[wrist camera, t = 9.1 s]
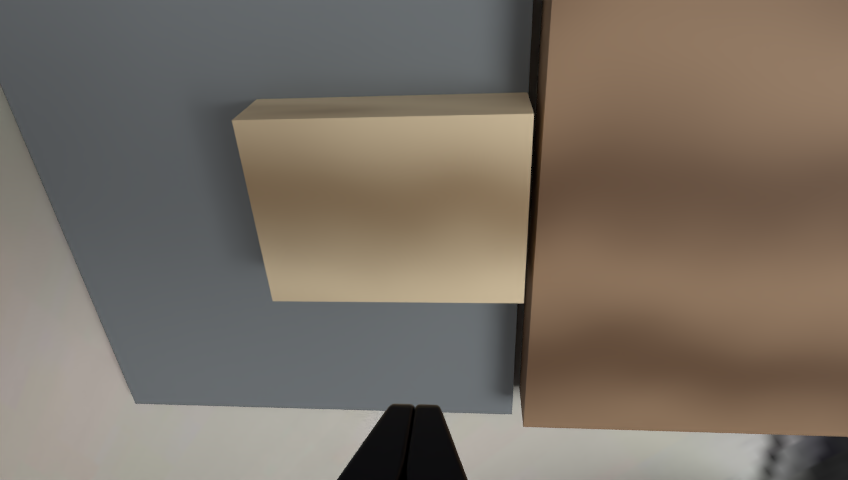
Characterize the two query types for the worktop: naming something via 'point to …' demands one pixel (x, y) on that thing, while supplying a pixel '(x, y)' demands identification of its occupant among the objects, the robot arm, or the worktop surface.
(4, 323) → the worktop surface
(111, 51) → the slate mat
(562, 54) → the walnut board
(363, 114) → the birch tile
